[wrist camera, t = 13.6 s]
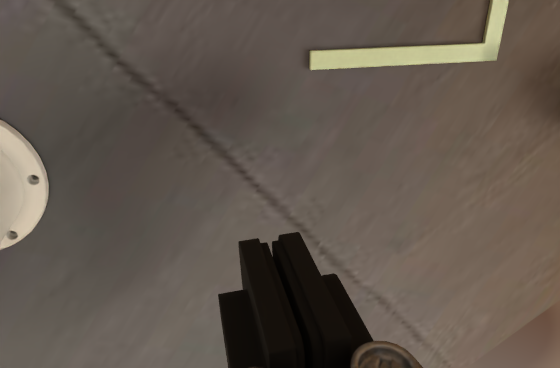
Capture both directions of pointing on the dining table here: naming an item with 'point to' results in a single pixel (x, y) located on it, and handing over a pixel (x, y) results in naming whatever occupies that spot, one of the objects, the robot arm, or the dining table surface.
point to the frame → (419, 49)
